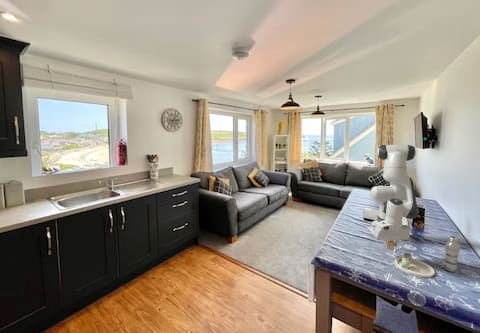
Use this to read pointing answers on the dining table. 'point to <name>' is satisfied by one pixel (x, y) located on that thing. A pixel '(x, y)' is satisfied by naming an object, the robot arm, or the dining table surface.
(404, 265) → the bead
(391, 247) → the bead
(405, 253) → the bead
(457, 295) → the dining table surface
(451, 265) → the silver metal bottle
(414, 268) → the tray
